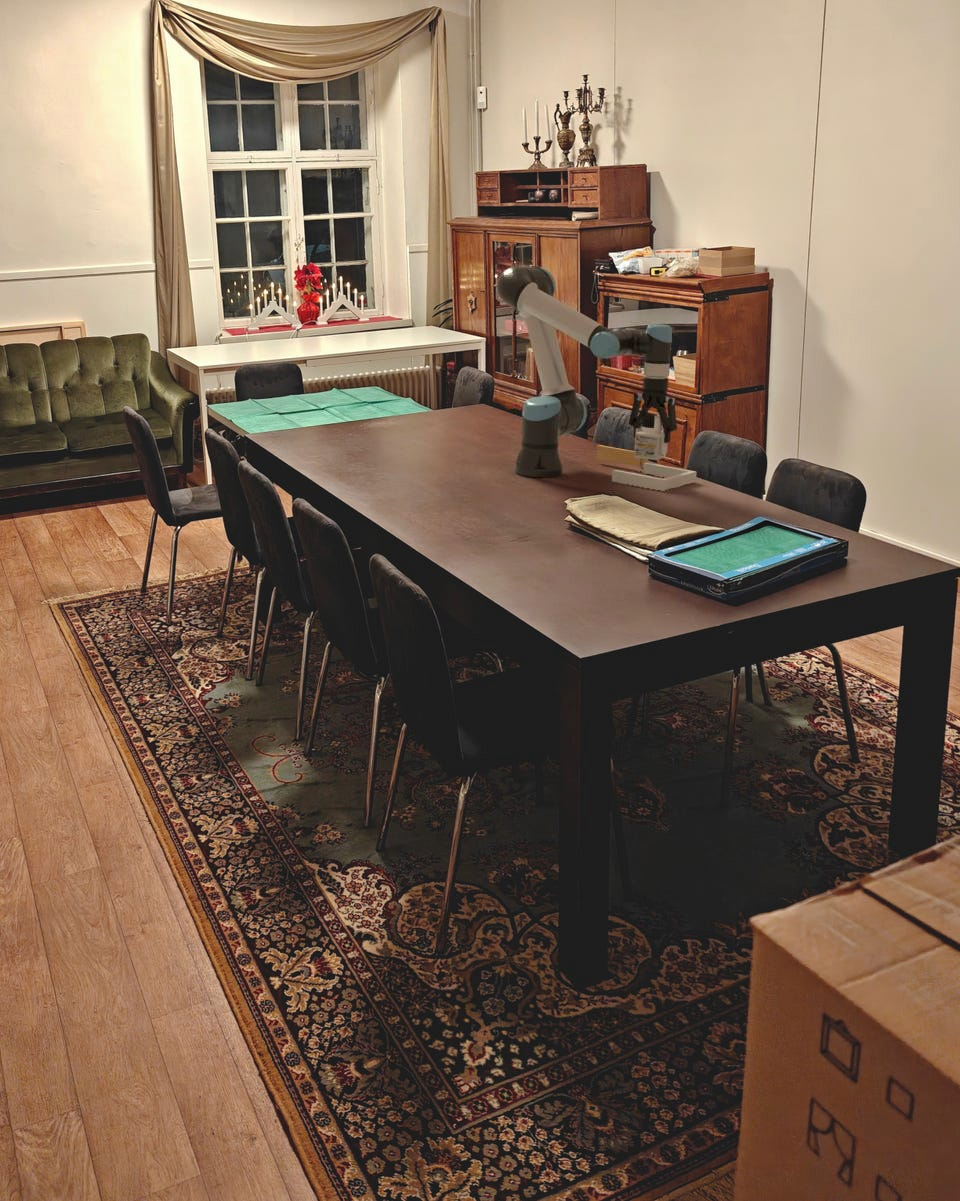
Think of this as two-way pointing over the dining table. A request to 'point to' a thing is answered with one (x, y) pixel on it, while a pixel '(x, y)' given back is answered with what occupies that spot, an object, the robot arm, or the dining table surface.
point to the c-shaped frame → (653, 481)
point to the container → (649, 438)
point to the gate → (619, 456)
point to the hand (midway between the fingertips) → (650, 450)
